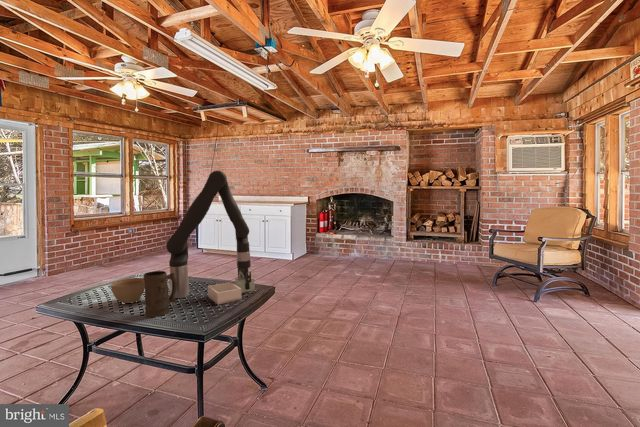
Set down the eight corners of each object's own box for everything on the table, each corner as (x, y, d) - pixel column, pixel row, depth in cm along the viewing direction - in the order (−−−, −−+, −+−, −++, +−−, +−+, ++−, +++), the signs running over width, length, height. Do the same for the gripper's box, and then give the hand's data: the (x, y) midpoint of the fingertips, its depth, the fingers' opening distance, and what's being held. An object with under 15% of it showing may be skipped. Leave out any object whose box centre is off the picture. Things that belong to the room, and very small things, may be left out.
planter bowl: (133, 295, 196) (132, 276, 195) (153, 299, 189) (152, 279, 188) (105, 304, 182) (103, 284, 181) (125, 308, 175) (124, 287, 174)
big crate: (218, 304, 177) (217, 293, 176) (208, 296, 190) (207, 286, 190) (241, 299, 184) (241, 288, 183) (230, 292, 197) (230, 281, 197)
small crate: (239, 293, 195) (239, 281, 194) (235, 290, 200) (234, 278, 199) (254, 290, 200) (254, 278, 199) (250, 287, 205) (249, 276, 204)
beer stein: (152, 319, 160) (152, 275, 159) (138, 315, 165) (138, 273, 165) (181, 310, 173) (181, 270, 172) (168, 307, 178) (168, 268, 178)
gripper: (232, 258, 202) (234, 286, 203) (242, 262, 190) (243, 292, 192) (244, 256, 206) (246, 283, 208) (254, 260, 195) (256, 289, 196)
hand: (244, 287), depth 200 cm, fingers open, 7 cm apart
